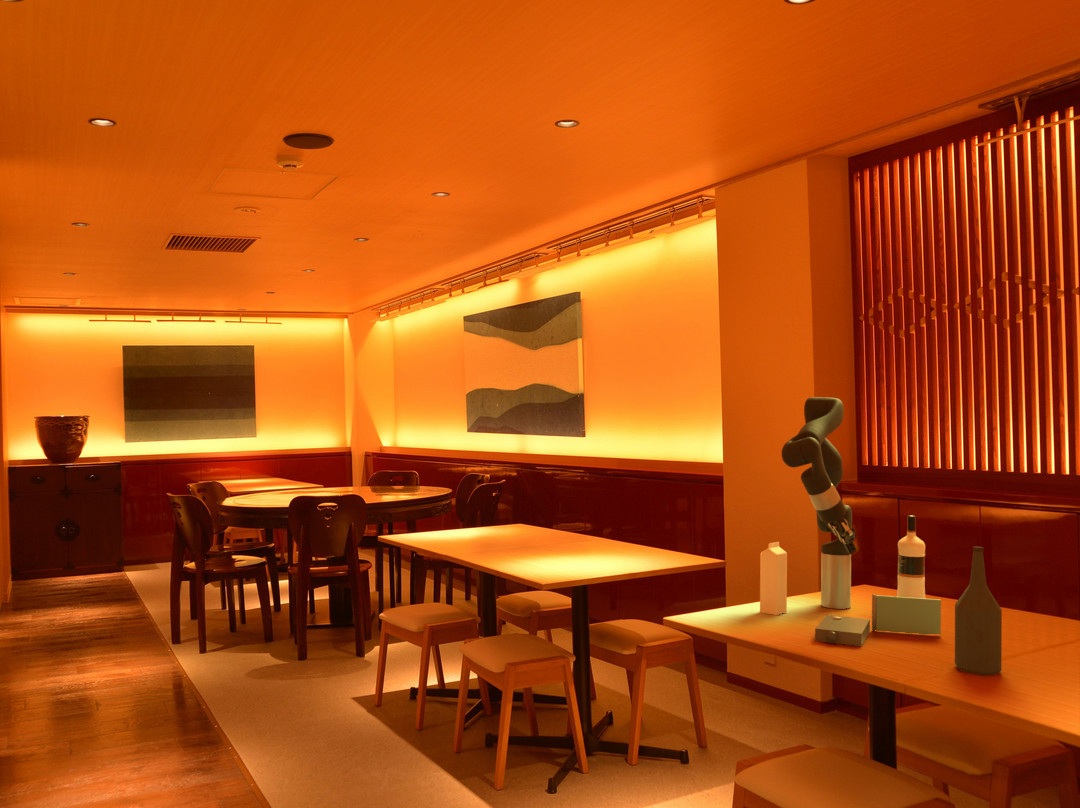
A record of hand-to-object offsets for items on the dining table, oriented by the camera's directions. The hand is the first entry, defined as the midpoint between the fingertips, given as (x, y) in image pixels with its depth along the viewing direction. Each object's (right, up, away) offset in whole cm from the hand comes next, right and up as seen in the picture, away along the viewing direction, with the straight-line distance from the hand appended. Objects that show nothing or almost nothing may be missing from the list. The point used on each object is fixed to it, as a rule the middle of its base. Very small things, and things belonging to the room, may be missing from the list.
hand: (852, 551), depth 253 cm
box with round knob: (-3, -23, -2) cm, 24 cm away
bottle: (+18, -23, -35) cm, 46 cm away
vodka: (+33, -25, +39) cm, 57 cm away
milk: (-15, -24, +28) cm, 40 cm away
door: (+16, -24, +2) cm, 28 cm away
